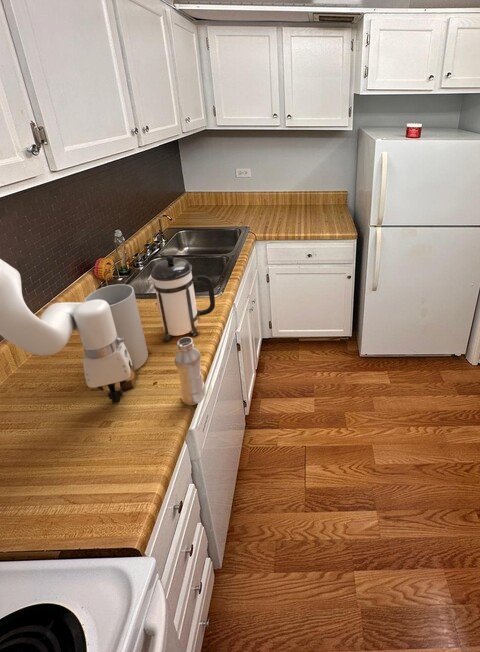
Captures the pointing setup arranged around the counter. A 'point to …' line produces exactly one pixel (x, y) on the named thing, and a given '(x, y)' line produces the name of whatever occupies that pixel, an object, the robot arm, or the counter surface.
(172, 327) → the coffee press
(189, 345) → the plastic bottle
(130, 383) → the walnut block
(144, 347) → the cylinder vase
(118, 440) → the counter surface
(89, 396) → the counter surface
